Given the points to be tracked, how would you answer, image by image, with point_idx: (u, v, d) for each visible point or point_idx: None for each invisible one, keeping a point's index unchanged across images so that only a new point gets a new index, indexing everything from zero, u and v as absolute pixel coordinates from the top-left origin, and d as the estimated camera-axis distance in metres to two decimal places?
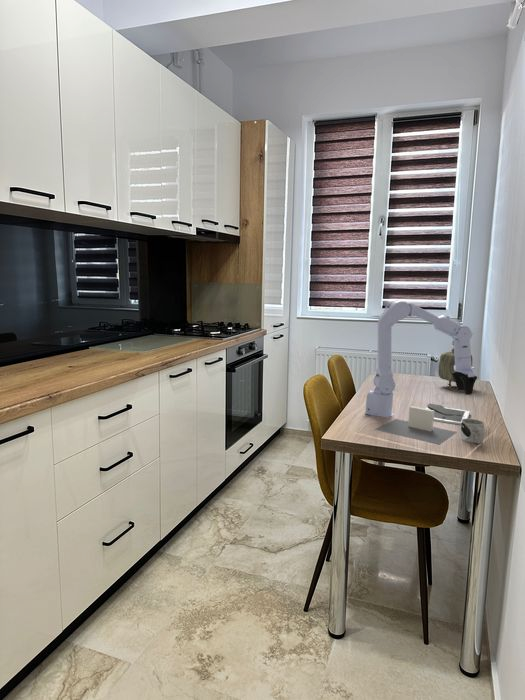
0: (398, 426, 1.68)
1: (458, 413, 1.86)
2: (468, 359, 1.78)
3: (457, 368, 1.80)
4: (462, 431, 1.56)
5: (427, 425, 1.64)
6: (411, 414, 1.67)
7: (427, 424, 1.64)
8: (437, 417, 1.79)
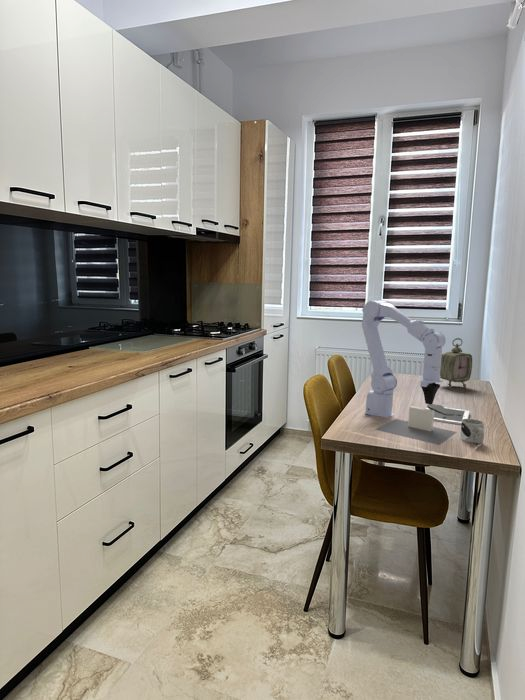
0: (398, 426, 1.68)
1: (458, 413, 1.86)
2: (432, 369, 1.66)
3: None
4: (462, 431, 1.56)
5: (427, 425, 1.64)
6: (411, 414, 1.67)
7: (427, 424, 1.64)
8: (438, 417, 1.79)
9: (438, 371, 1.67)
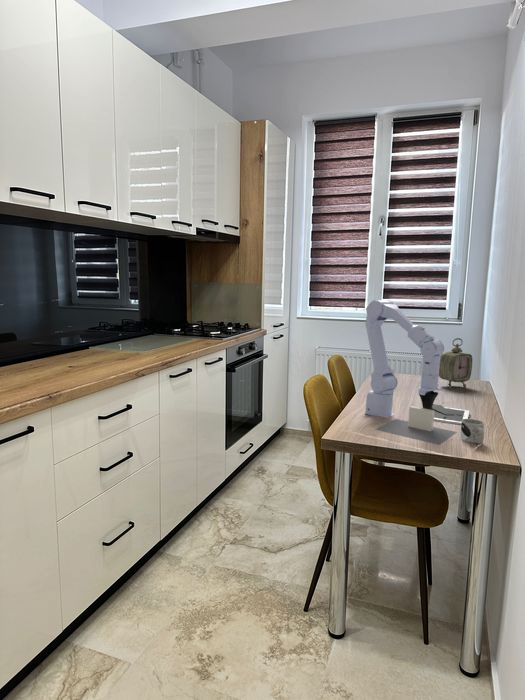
0: (398, 426, 1.68)
1: (458, 413, 1.86)
2: (430, 377, 1.66)
3: None
4: (462, 431, 1.56)
5: (427, 425, 1.64)
6: (411, 414, 1.67)
7: (427, 424, 1.64)
8: (438, 417, 1.79)
9: (436, 379, 1.66)
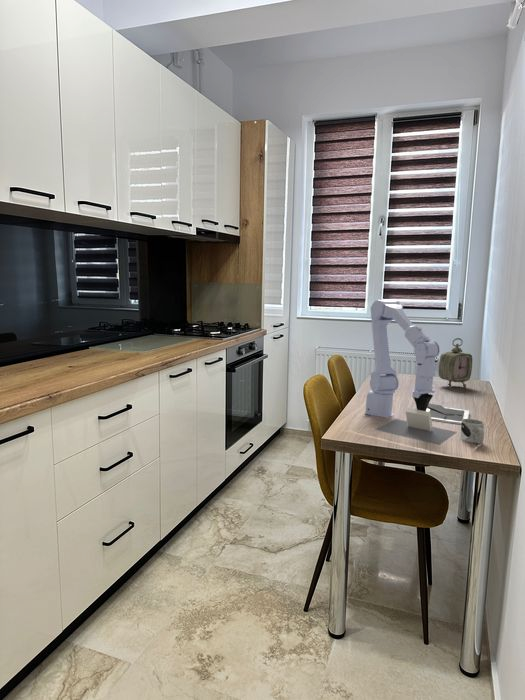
0: (398, 426, 1.68)
1: (458, 413, 1.86)
2: (424, 379, 1.61)
3: None
4: (462, 431, 1.56)
5: (426, 426, 1.63)
6: (408, 417, 1.66)
7: (426, 425, 1.63)
8: (439, 417, 1.79)
9: (431, 381, 1.62)
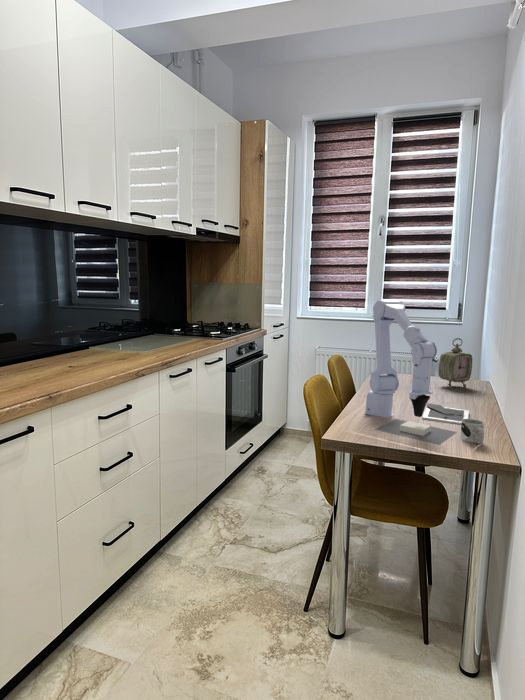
0: (398, 426, 1.68)
1: (458, 413, 1.86)
2: (421, 380, 1.59)
3: None
4: (462, 431, 1.56)
5: None
6: None
7: None
8: (439, 417, 1.79)
9: (428, 382, 1.60)
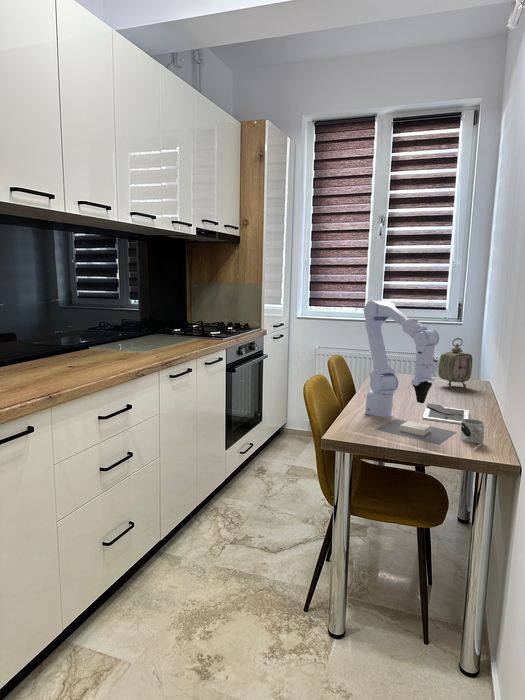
0: (398, 426, 1.68)
1: (458, 413, 1.86)
2: (424, 367, 1.63)
3: None
4: (462, 431, 1.56)
5: None
6: None
7: None
8: (440, 417, 1.78)
9: (430, 369, 1.63)
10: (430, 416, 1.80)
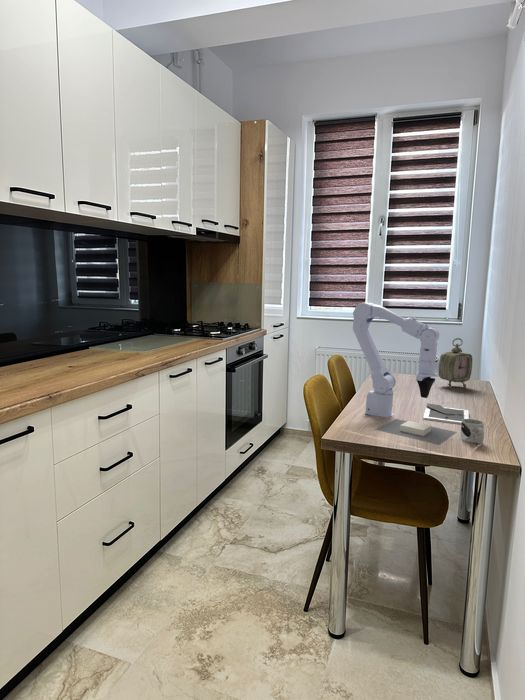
0: (398, 426, 1.68)
1: (458, 412, 1.86)
2: (427, 363, 1.71)
3: (418, 370, 1.74)
4: (462, 431, 1.56)
5: None
6: None
7: None
8: (440, 417, 1.78)
9: (433, 365, 1.71)
10: (430, 416, 1.80)
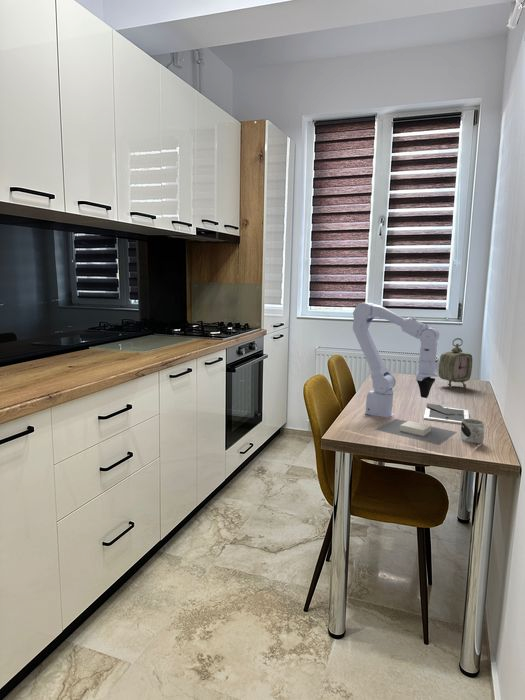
0: (398, 426, 1.68)
1: (458, 412, 1.86)
2: (427, 363, 1.71)
3: (418, 370, 1.74)
4: (462, 431, 1.56)
5: None
6: None
7: None
8: (441, 417, 1.78)
9: (433, 365, 1.71)
10: (431, 416, 1.80)
